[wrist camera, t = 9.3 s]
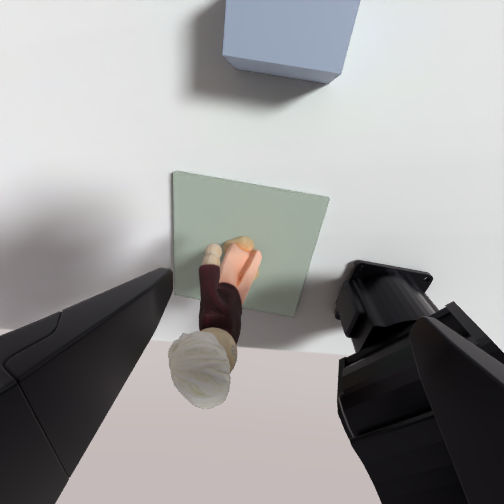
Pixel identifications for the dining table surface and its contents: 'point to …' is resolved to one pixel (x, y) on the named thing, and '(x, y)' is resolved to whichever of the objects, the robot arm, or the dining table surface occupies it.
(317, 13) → the slate-blue block
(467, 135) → the dining table surface
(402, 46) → the dining table surface
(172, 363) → the grandmother figurine
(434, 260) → the dining table surface
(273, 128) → the dining table surface
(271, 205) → the sage mat
